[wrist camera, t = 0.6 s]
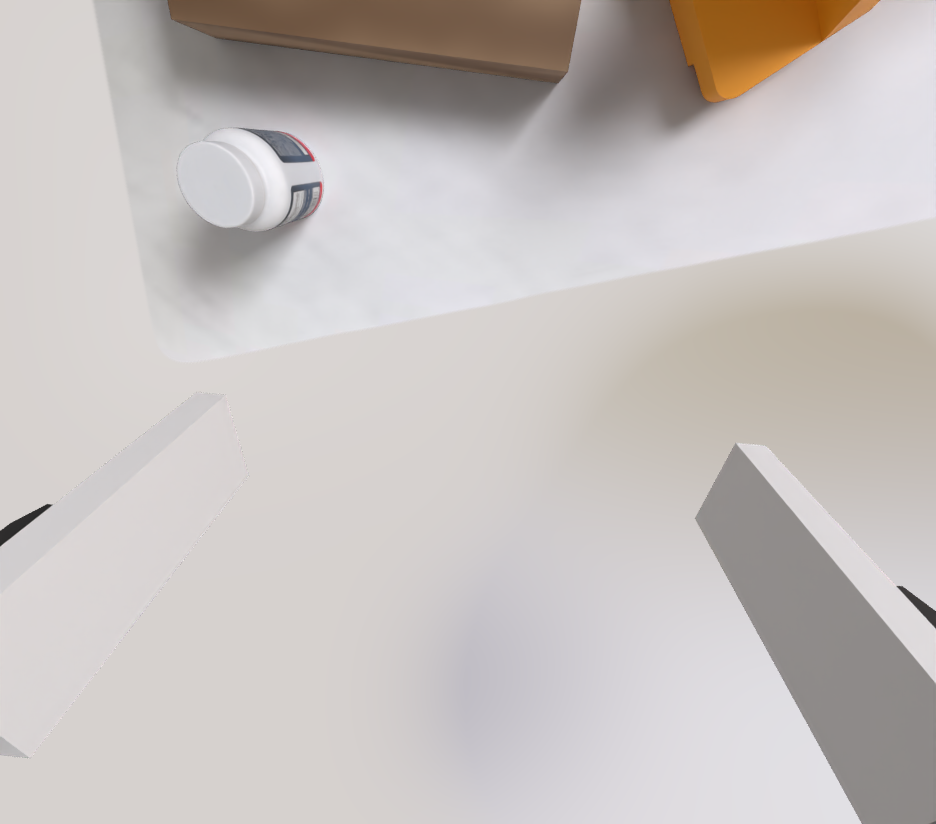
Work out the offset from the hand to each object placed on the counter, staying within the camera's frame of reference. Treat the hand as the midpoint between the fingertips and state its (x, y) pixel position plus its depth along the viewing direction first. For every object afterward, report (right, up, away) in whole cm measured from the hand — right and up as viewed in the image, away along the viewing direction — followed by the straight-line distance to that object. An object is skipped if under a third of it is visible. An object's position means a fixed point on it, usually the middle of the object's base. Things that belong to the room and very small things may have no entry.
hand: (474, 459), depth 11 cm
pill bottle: (-13, +18, +18) cm, 28 cm away
